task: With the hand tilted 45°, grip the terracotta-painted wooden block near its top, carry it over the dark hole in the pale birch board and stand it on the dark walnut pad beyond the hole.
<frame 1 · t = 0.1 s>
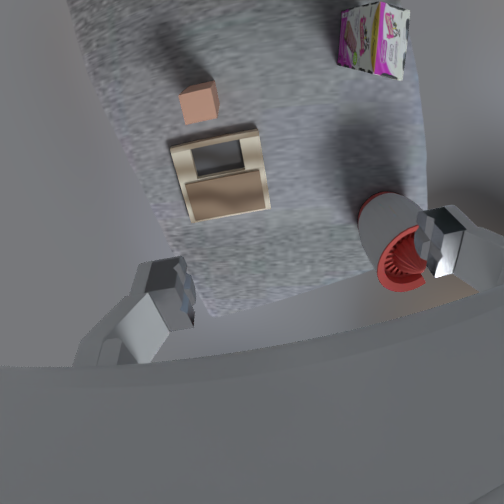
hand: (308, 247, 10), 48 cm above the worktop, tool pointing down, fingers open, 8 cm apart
citrus juicer: (383, 215, 66), on the worktop
hole board: (222, 176, 59), on the worktop
candy bar box: (350, 40, 44), on the worktop
terracotta block: (204, 95, 49), on the worktop
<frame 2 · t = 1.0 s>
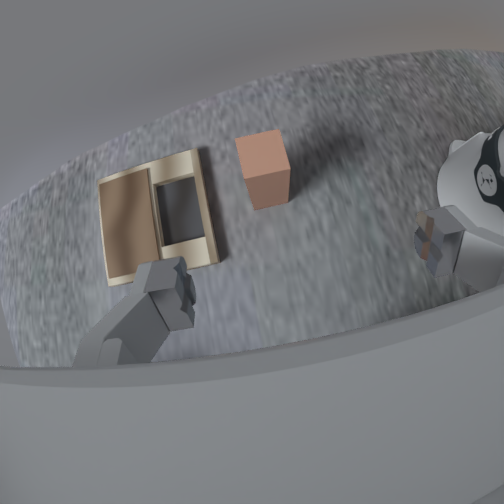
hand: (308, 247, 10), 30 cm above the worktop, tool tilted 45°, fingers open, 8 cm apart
hole board: (154, 218, 42), on the worktop
terracotta block: (267, 190, 41), on the worktop
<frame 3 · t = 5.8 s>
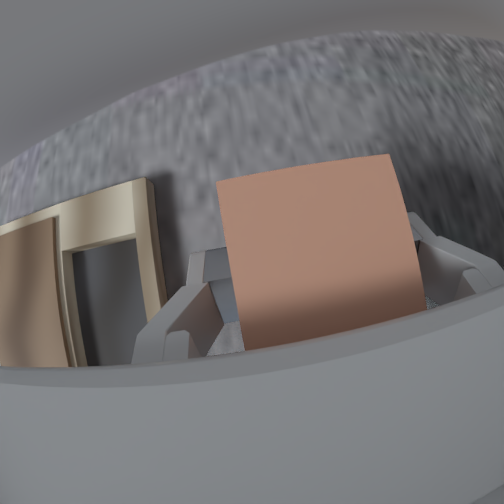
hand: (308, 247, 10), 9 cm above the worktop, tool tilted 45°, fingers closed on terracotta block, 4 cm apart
hole board: (70, 317, 20), on the worktop
terracotta block: (295, 280, 19), on the worktop, touching gripper
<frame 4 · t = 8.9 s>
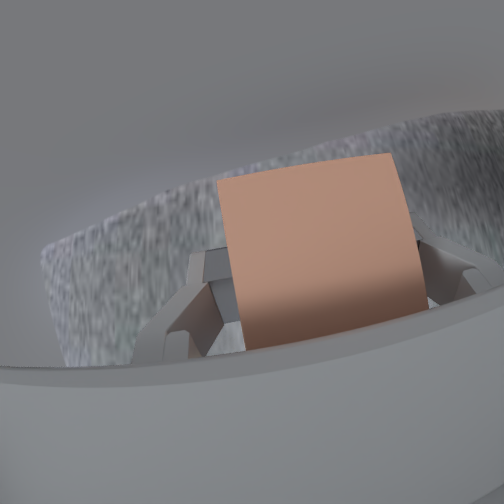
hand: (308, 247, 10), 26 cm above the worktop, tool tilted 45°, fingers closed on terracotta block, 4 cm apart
terracotta block: (295, 280, 19), point 18 cm above the worktop, touching gripper
when the fingers open (12 cm above the worktop, at t = 12.1 s): terracotta block drops 2 cm, resting on hole board.
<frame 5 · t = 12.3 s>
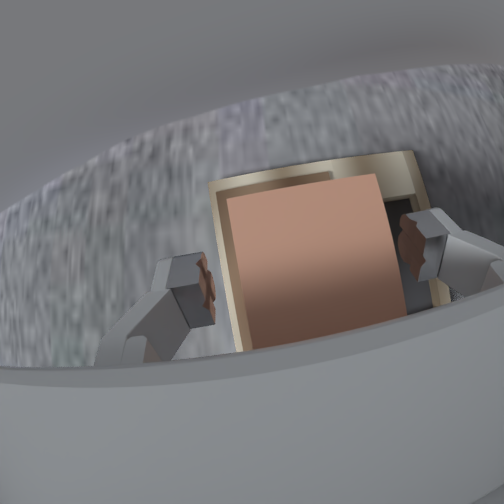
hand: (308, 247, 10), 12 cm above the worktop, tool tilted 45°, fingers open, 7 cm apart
hole board: (339, 273, 22), on the worktop
terracotta block: (294, 281, 20), point 2 cm above the worktop, touching hole board
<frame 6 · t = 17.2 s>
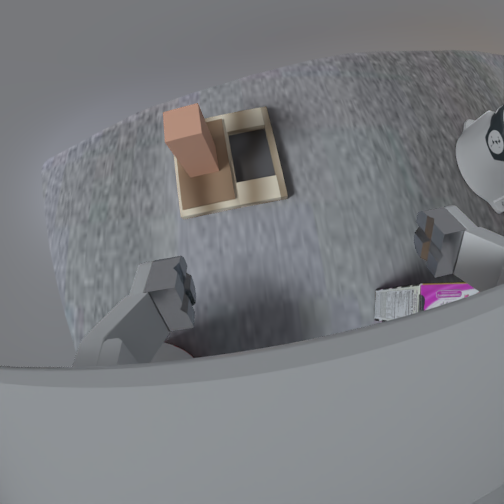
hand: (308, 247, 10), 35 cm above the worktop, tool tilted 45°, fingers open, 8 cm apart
citrus juicer: (168, 386, 45), on the worktop
hole board: (226, 161, 48), on the worktop
candy bar box: (406, 303, 44), on the worktop
terracotta block: (202, 161, 47), point 2 cm above the worktop, touching hole board
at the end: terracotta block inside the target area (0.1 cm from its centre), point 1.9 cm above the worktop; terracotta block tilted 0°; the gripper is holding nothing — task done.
